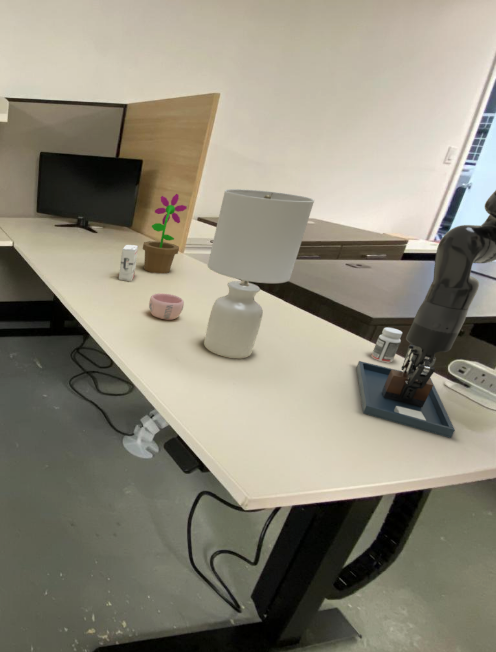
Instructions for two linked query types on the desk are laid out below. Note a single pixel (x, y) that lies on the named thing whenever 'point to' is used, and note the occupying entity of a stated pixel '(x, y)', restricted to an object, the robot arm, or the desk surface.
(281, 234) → the lamp
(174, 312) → the pink bowl
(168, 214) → the flowerpot
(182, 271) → the desk surface
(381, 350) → the pill bottle
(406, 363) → the robot arm
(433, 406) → the tray
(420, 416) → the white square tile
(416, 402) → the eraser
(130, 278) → the ink box
